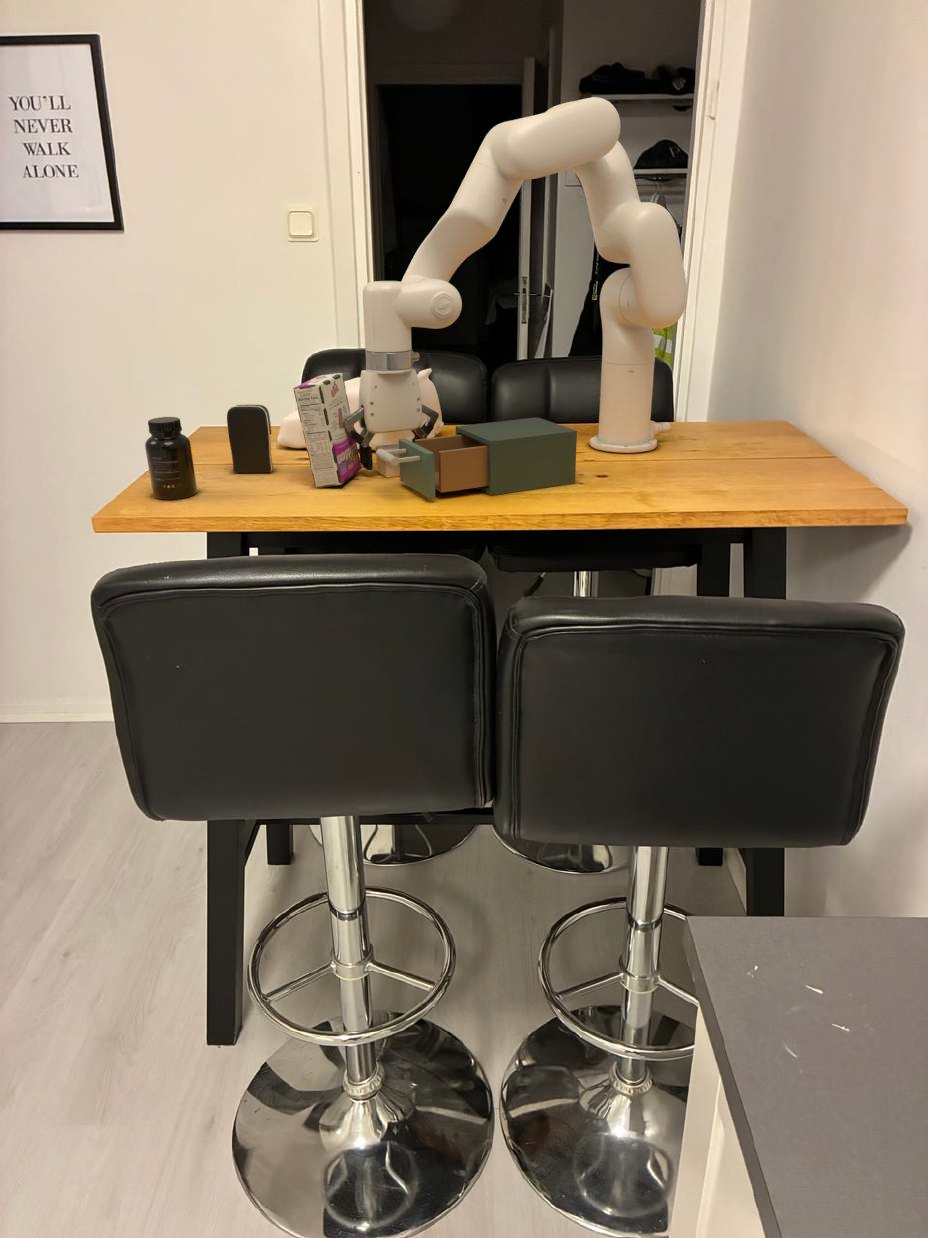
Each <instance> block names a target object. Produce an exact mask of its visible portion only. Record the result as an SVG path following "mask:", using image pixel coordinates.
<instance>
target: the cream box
mask: <svg viewBox="0 0 928 1238" xmlns="http://www.w3.org/2000/svg"><path fill="white" fill-rule="evenodd" d="M378 449H383V450H384V451H389V450H397V449H399V443H398V444H389V445H381V446H376V450H375V452H376V451H377V450H378ZM393 456H395V457H397V458H399V454H393ZM376 472H377V473H378V474H380V475H382V476H383V477H385V478H394V477H400V463H399V464H398V465H397V466H392V465H390V464H389V463H387V462H385V461H384V460H382V459H380V458H379V457H377V456H376Z"/></svg>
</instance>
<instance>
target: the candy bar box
mask: <svg viewBox="0 0 928 1238" xmlns="http://www.w3.org/2000/svg"><path fill="white" fill-rule="evenodd" d="M344 381H345V379H344V373H343V372H337V373H329V374H321V375H318V376H315V377H313V378H310V379H309V380H306V381H305V382H303V383H301V384H299V385H296V386H295V387H293V388H292V390H293V394H294V398H295V403H296V407H297V408H298V412H299V417H300V421H301V425H302V430H303V434H304V438H305V443H306V448H305V449H306V453H307V456H308V461H309V465H310V470H311V474H312V479H313V484H314V488H328V487H330V488H331V487H337V486H342V485H344V484H345V483H347V481H349V479H351V478H352V477H353V476H354V475H356V474H357V473H358V472H359V471H360V470H361V469H362V467H363V466H362V465H361V463H360V452H359V449H358V448H357V443H356V441H355V440H353V439H352V438H351V437H350V436H349V434H348V433H347V431H346V429H345V427H344V425H343V421H344V419H346V418H347V417H348V416H350V415H351V413H350V409H349V403H348V399H347V394H346V389H345V384H344ZM297 408H296V409H297Z"/></svg>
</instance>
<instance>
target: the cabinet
mask: <svg viewBox="0 0 928 1238" xmlns="http://www.w3.org/2000/svg"><path fill="white" fill-rule="evenodd" d="M460 434H463V435H466V436H468V437H470V438H473V439H475V440H477V441H480V442H482V443H484V444H486V445H489V446H488V486H485V487H478V488H476V489H478V490H479V491H481V492H483V493H485V494H487V495H489V496H491V497H492V496H497V495H505V494H511V493H517V492H525V491H532V490H538V489H545V488H552V487H559V486H567V485H573V484H576V472H577V469H576V468H577V443H578V442H577V441H578V430H576V429H573V428H570V427H567V426H564V425H561V424H558V423H556V422H553V421H549V420H547V419H544V418H541V417H528V418H518V419H509V420H502V421H501V420H500V421H493V422H483V423H476V424H475V423H474V424H466V425H457V426H455V435H460Z"/></svg>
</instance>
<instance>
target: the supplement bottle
mask: <svg viewBox="0 0 928 1238" xmlns="http://www.w3.org/2000/svg"><path fill="white" fill-rule="evenodd" d="M147 425H148V433H149V434H150V435H151V436H150V437H148V438H147V439H146V440H145V443H144V448H145V455H146V460H147V467H148V472H149V479H150V484H151V489H152V494H153V496H154V497H155V498H156V499H158V500H166V501H174V500H182V499H187V498H190V497H192V496H194V495H195V494H196V493H197V491H198V486H197V478H196V472H195V468H194V467H195V466H194V458H193V452H192V446H191V440H190V439H189V437H187V436H186V435H185V434H183V433H181V432H182V431H183V426H182V424H181V418H180V417H178V416H161V417H155V418H150V419H149V420H148V421H147Z"/></svg>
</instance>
